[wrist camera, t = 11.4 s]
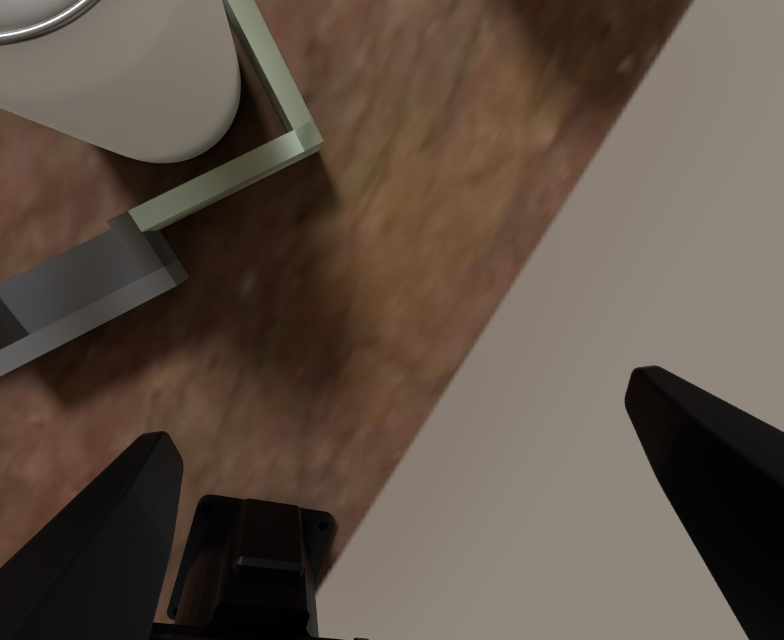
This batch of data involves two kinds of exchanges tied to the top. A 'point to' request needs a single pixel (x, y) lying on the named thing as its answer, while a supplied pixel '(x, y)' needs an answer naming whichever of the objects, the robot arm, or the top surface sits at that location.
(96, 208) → the top surface
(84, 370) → the top surface
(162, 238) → the channel
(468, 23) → the top surface
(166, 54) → the can
